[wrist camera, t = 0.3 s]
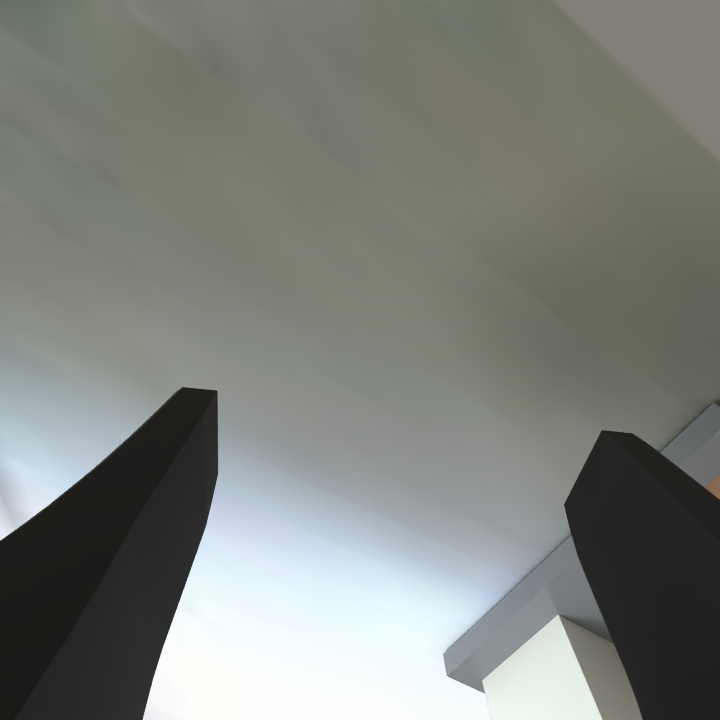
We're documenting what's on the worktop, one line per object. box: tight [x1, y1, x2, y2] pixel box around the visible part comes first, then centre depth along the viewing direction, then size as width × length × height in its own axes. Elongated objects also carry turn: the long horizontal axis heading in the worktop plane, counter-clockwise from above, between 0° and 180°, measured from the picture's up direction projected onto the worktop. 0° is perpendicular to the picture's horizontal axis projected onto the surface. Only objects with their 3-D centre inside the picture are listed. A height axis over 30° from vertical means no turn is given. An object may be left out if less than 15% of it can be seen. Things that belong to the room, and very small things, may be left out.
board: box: [443, 403, 720, 693], centre depth 25 cm, size 18×12×1 cm, turn 146°
